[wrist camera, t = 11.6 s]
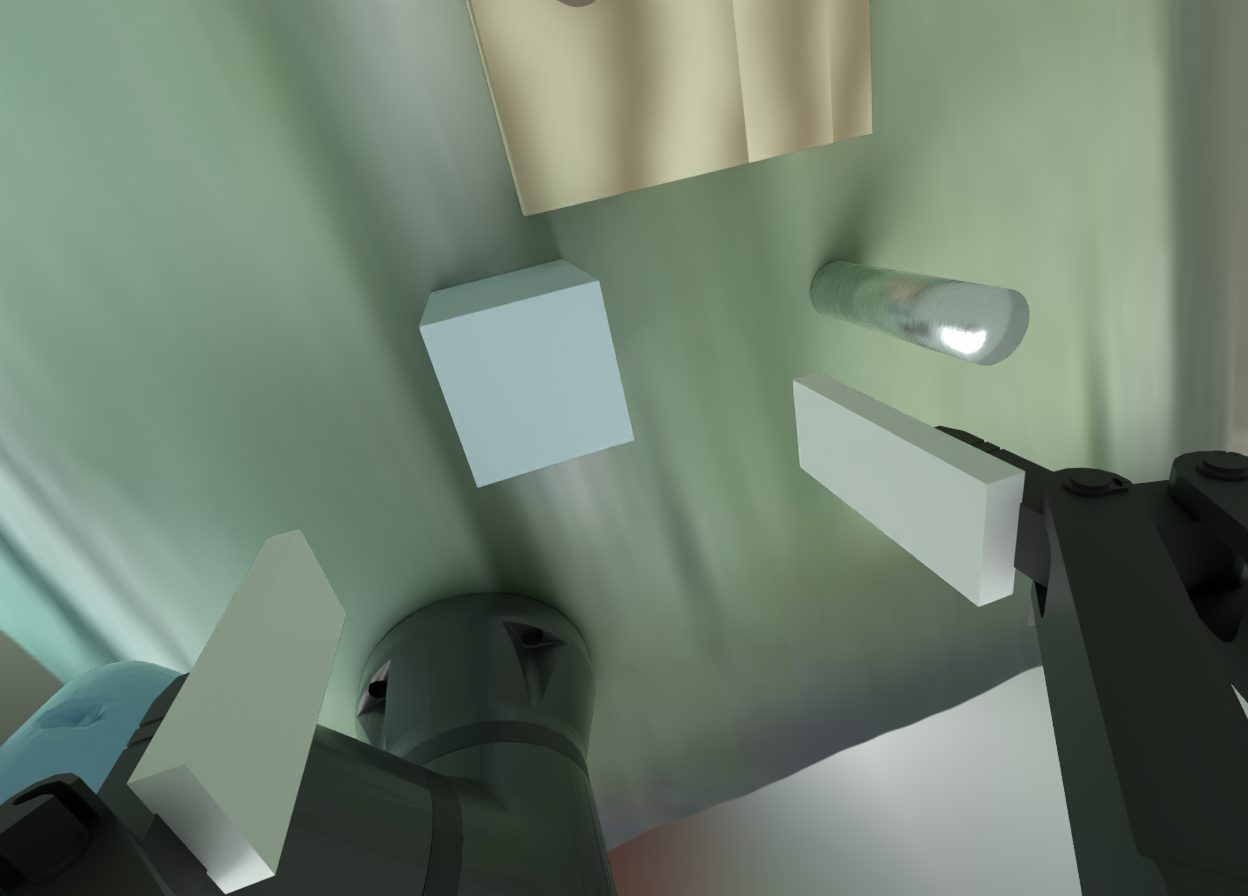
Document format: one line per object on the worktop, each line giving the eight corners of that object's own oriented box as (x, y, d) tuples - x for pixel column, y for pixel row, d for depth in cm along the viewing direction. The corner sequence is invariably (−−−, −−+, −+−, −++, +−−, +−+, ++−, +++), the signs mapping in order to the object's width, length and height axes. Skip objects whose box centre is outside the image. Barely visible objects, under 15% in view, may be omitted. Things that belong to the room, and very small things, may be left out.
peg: (812, 321, 36) (961, 374, 25) (808, 268, 34) (965, 300, 24) (858, 308, 36) (1025, 354, 25) (857, 254, 35) (1032, 280, 24)
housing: (473, 416, 33) (477, 487, 25) (430, 292, 30) (418, 327, 22) (593, 382, 34) (634, 440, 26) (563, 258, 31) (598, 280, 23)
